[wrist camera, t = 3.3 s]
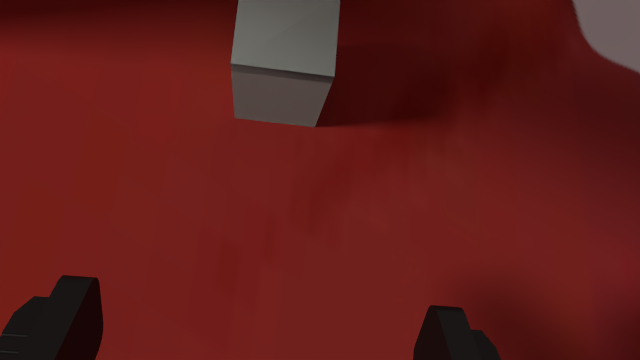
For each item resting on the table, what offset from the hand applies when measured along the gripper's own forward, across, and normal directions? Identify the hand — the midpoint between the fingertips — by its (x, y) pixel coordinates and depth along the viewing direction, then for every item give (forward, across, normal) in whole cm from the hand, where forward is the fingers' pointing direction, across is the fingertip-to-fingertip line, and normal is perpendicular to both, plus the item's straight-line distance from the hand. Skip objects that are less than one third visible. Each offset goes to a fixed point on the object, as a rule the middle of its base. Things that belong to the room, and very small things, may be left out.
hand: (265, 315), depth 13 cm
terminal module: (+19, 0, +2) cm, 19 cm away
